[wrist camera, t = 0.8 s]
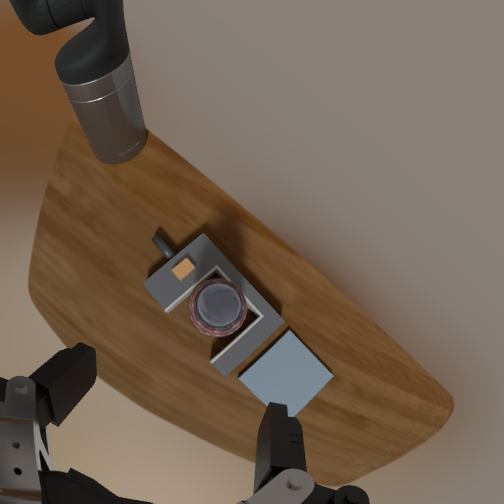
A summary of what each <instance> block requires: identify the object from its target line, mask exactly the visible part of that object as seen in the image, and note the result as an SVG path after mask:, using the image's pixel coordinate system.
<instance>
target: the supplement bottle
mask: <svg viewBox="0 0 504 504" xmlns="http://www.w3.org/2000/svg"><path fill="white" fill-rule="evenodd" d="M188 312H189V316H190V319H191V321H192V323H193V324H194V326H195V327H196V328H197V329H198V330H199V331H200V332H201V333H203V334H205V335H207V336H210V337H224V336H228V335H230V334H232V333H234V332H235V331H237V330H238V329H239V328H240V327H241V325H242V324H243V322H244V320H245V318H246V314H247V303H246V299H245V296H244V294H243V293H242V291H241V290H240V289H239V288H238V287H237V286H236V285H235V284H234V283H232V282H230V281H228V280H225V279H218V278H217V279H210V280H207V281H204V282H203V283H201V284H200V285H198V286H197V287H196V288H195V289H194V291H193V292H192V294H191V296H190V299H189V303H188Z"/></svg>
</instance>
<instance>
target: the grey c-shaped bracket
mask: <svg viewBox="0 0 504 504" xmlns="http://www.w3.org/2000/svg"><path fill="white" fill-rule="evenodd" d="M152 241H153V242H154V243H155V245H156V246H157V247H158V248H159V250H160V251H161V252H162V253H163V254H164V256H165V257H166V258H167V259H168V260H169V261H168V262H167V263H166V264H165V265H164V266H162V267H161V268H160V269H159V270H158V271H156V272H155V273H154V274H153V275H152V276H151V277H149V278H148V279H147V280H146V281H145V282H144V283H143V285H144V286H145V287H146V288H147V290H148V291H149V292H150V293H151V295H152V296H153V297H154V298H155V299H156V301H157V302H158V303H159V304H160V306H161V307H162V308H163V309H164V310H165V312H167V313H169V312H170V311H172V310H173V309H174V308H175V307H176V306H177V305H178V304H180V303H181V302H182V301H183V300H184V299H185V298H187V297H188V296H189V295H190V294H191V293H192V292H193V291H194V289H195V288H196V287H197V286H198V285H200V284H201V283H203V282H204V281H206V280H207V279H209V278H210V277H211V276H212V275H213V274H214V273H217V274H218V275H219V276H220V277H221V278H222V279H225V280H228V281H230V282H232V283H234V284H235V285H236V286H237V287H238V288H239V289H240V290H241V291H242V293H243V294H244V296H245V299H246V303H247V307H248V308H249V309H250V310H251V311H252V312H253V313H254V314H255V315H256V316H257V318H256V319H255V320H254V321H253V322H252V323H251V324H250V325H249V326H247V327H246V328H245V329H244V330H243V331H242V332H241V333H240V334H239V335H238V336H237V337H235V338H234V339H233V340H232V341H231V342H230V343H229V344H228V345H227V346H225V347H224V348H223V349H222V350H221V351H220V352H219V353H218V354H217V355H215V356H214V357H213V358H212V359H211V360H210V362H211V363H212V364H213V365H214V366H215V367H216V368H217V369H218V370H219V371H220V372H221V373H222V374H223V375H224V376H225V377H226V376H227V375H228V374H229V373H230V372H231V371H232V370H234V369H235V368H236V367H237V366H238V365H239V364H240V363H241V362H242V361H243V360H245V359H246V358H247V357H248V356H249V355H250V354H251V353H252V352H253V351H254V350H255V349H256V348H258V347H259V346H260V345H261V344H262V343H263V342H264V341H265V340H266V339H267V338H268V337H269V336H270V335H271V334H272V333H273V332H274V331H275V330H276V329H277V328H278V327H279V326H281V325H282V324H283V323H284V322H285V321H284V320H283V319H282V317H281V316H280V315H279V314H278V313H277V312H276V311H275V310H274V309H273V308H272V307H271V306H270V305H269V304H268V302H267V301H266V300H265V299H264V298H263V297H262V296H261V295H260V294H259V293H258V292H257V291H256V290H255V288H254V287H253V286H252V285H251V284H250V283H249V282H248V281H247V280H246V279H245V278H244V277H243V275H242V274H241V273H240V272H239V271H238V270H237V269H236V268H235V267H234V266H233V265H232V263H231V262H230V261H229V260H228V259H227V258H226V257H225V256H224V255H223V254H222V252H221V251H220V250H219V249H218V248H217V247H216V246H215V245H214V244H213V242H212V241H211V240H210V239H209V238H208V237H207V236H206V235H205V234H204V233H202V234H201V235H200V236H199V237H198V238H196V239H195V240H194V241H193V242H191V243H190V244H189V245H188V246H186V247H185V248H184V249H183V250H182V251H180V252H179V253H178V254H177V255H176V254H175V253H174V252H173V251H172V250H171V248H170V247H169V246H168V245H167V244H166V242H165V241H164V240H163V239H162V238H161V236H160V235H159V234H156V235H155V236H154V237H153V238H152Z"/></svg>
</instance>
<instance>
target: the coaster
mask: <svg viewBox="0 0 504 504" xmlns="http://www.w3.org/2000/svg"><path fill="white" fill-rule="evenodd" d="M332 377H333V375H332V374H331V373H330V372H329V371H328V370H327V369H326V368H325V366H324V365H323V364H322V363H321V362H320V361H319V360H318V359H317V358H316V357H315V356H314V355H313V354H312V353H311V352H310V351H309V350H308V349H307V348H306V347H305V346H304V345H303V344H302V343H301V342H300V340H299V339H298V338H297V337H296V336H295V335H294V334H293V333H292V332H291V331H290V330H288V331H287V332H286V333H285V334H284V335H283V336H282V337H281V338H280V339H279V340H278V341H277V342H276V343H275V344H274V345H273V346H272V347H271V348H270V349H268V350H267V351H266V352H265V353H264V354H263V355H262V356H261V357H260V358H259V359H258V360H257V361H256V362H255V363H254V364H253V365H251V366H250V367H249V368H248V369H247V370H246V371H245V372H244V373H243V374H242V375H240V376H239V377H238V378H239V379H240V380H241V381H242V382H243V383H244V384H245V385H246V386H247V387H248V388H249V389H250V390H251V391H252V392H253V393H254V394H255V395H256V396H257V397H258V398H259V399H260V400H261V401H262V402H263V403H264V404H265V405H266V406H268V404H269V402H274V403H279V404H285V405H287V408H288V416H289V417H294V416H295V415H296V414H297V413H298V412H299V411H300V410H301V409H302V408H303V407H304V406H305V405H306V404H307V403H308V402H309V401H310V400H311V399H312V398H313V397H314V396H315V395H316V394H317V393H318V392H319V391H320V390H321V389H322V388H323V387H324V386H325V385H326V383H327V382H328V381H329V380H330V379H331V378H332Z"/></svg>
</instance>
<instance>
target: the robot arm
mask: <svg viewBox="0 0 504 504" xmlns="http://www.w3.org/2000/svg"><path fill="white" fill-rule="evenodd" d="M10 2H11V4H12V6H13V8H14V10H15V12H16V14H17V15H18V17H19V19H20V20H21V22H22V24H23V25H24V26H25V27H26V29H27V30H28V31H30V32H31V33H33V34H35V35H45V34H48V33H51V32H54V31H56V30H59V29H62V28H64V27H67V26H69V25H72V24H75V23H77V22H80V21H83V20H86V19H89V18H92V17H94V18H95V19H94V21H93V22H92V23H91V24H90V25H89V26H87V27H86V28H85V29H84V30H82V31H81V32H80V33H78V34H77V35H76V36H74V37H73V38H72V39H71V40H69V41H68V42H67V43H66V44H65V45H64V46H63V47H62V48H61V49H60V51H59V52H58V54H57V56H56V59H55V68H56V71H57V74H58V76H59V79H60V80H61V83H62V85H63V87H64V89H65V92H66V94H67V96H68V99H69V100H70V103H71V105H72V108H73V110H74V112H75V114H76V116H77V119H78V121H79V123H80V125H81V127H82V129H83V131H84V133H85V135H86V137H87V139H88V142H89V144H90V146H91V148H92V150H93V151H94V153H95V155H96V157H97V158H98V159H99V160H100V161H102V162H104V163H108V164H118V163H122V162H125V161H127V160H129V159H131V158H133V157H134V156H135V155H137V154H138V153H139V152H140V150H141V149H142V148H143V146H144V144H145V142H146V137H147V134H146V129H145V125H144V120H143V115H142V111H141V106H140V102H139V96H138V92H137V87H136V82H135V76H134V71H133V66H132V61H131V56H130V49H129V44H128V39H127V33H126V27H125V20H124V11H123V0H10ZM96 376H97V370H96V351H95V349H94V348H93V347H90V346H88V345H86V344H84V343H81V342H79V343H78V344H77V345H75V346H74V347H73V348H72V349H70V348H66V349H64V350H61V351H59V352H57V353H56V354H55V355H54V356H53V357H52V358H50V359H49V360H48V361H47V362H45V363H44V364H43V365H42V366H41V367H40V368H38V369H37V370H36V371H35V372H34V373H33V374H31V375H30V376H29V377H24V376H16V377H13V378H11V379H10V380H7V379H4V378H1V377H0V504H153V503H150V502H146V501H139V500H132V499H127V498H122V497H118V496H116V495H115V494H113V493H112V492H110V491H109V490H108V489H106V488H105V487H103V486H102V485H101V484H99V483H98V482H97V481H95V480H94V479H92V478H90V477H88V476H86V475H84V474H82V473H80V472H78V471H76V470H74V469H72V468H70V470H69V472H68V473H65V472H61V471H55V470H54V467H53V464H52V459H51V453H50V446H49V438H48V429H47V425H48V424H49V423H50V422H51V423H52V424H54V425H56V426H57V427H59V425H60V424H61V423H62V422H63V420H64V419H65V418H66V417H67V416H68V415H69V413H70V412H71V411H72V410H73V409H74V407H75V406H76V405H77V404H78V403H79V401H80V400H81V399H82V398H83V397H84V396H85V394H86V393H87V392H88V391H89V390H90V388H91V387H92V386H93V385H94V383H95V380H96ZM303 443H304V440H303V431H302V426H301V424H300V422H299V421H298V419H297V418H296V417H289V416H288V408H287V405H285V404H279V403H274V402H269V404H268V406H267V409H266V412H265V414H264V417H263V419H262V422H261V424H260V427H259V431H258V437H257V451H256V466H255V480H254V494H253V496H251V497H250V498H249V499H247V500H246V501H240V502H238V503H237V504H370V503H369V498H368V495H367V494H366V492H365V491H364V490H362V489H361V488H359V487H357V486H351V485H347V486H343V487H341V488H339V489H338V490H334V489H330V488H327V487H323V486H320V485H318V484H316V483H315V482H314V481H313V479H312V477H311V476H310V475H309V474H308V473H307V470H306V460H305V450H304V444H303Z"/></svg>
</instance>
